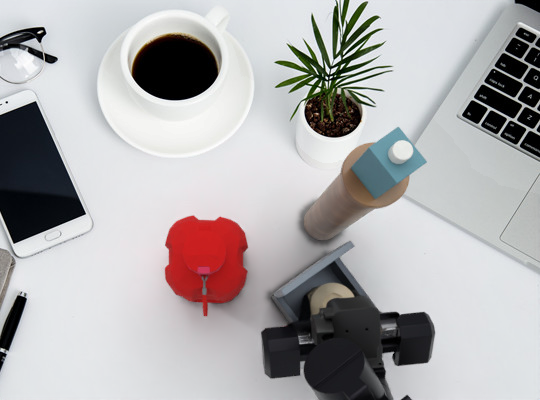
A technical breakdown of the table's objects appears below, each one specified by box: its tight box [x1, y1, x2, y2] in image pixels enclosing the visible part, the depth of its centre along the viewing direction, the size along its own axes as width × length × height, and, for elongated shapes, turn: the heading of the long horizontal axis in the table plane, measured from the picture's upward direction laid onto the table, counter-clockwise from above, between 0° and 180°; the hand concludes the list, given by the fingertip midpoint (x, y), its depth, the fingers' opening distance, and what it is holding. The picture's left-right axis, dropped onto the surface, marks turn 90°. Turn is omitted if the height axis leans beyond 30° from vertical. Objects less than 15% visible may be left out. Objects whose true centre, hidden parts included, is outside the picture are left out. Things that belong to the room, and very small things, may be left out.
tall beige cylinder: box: [303, 141, 410, 241], centre depth 70 cm, size 6×6×30 cm
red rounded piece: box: [164, 215, 249, 318], centre depth 72 cm, size 9×11×25 cm
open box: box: [270, 257, 378, 323], centre depth 80 cm, size 10×10×6 cm
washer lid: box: [272, 240, 355, 298], centre depth 73 cm, size 10×10×1 cm
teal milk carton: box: [351, 126, 428, 199], centre depth 51 cm, size 4×3×8 cm
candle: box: [302, 283, 354, 315], centre depth 77 cm, size 6×6×10 cm
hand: (329, 294), depth 76 cm, fingers closed on candle, 5 cm apart
